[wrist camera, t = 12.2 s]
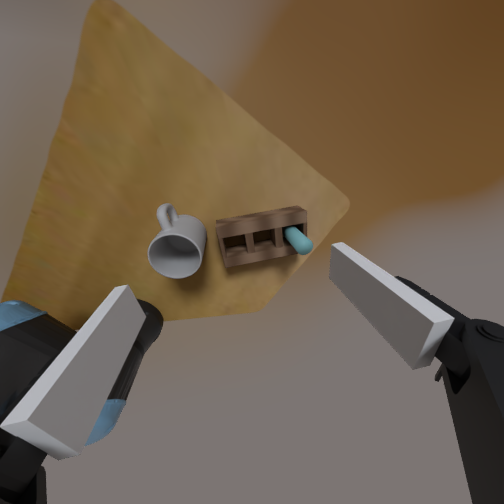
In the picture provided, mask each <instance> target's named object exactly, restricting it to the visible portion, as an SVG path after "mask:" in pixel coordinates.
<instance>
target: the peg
mask: <svg viewBox="0 0 504 504" xmlns="http://www.w3.org/2000/svg"><path fill="white" fill-rule="evenodd" d="M282 234H283V235H284V236H285V238H286V239H287V240H288V241H289V242H290V244H291V245H292V246H293V247H294V248H295V250H296V251H297V252H298V253H299V254H301V255H306V254H308V253H309V252H310V251H311V250H312V248H313V243H312V242H311V241H310V240H309V239H308V238H307V237H306V236H305V235H304V234H303V233H301V232H300V231H299V230H298V229H297V228H296V227H295V226H294V225H290V226H284V227H282Z"/></svg>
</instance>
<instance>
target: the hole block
mask: <svg viewBox="0 0 504 504" xmlns="http://www.w3.org/2000/svg"><path fill="white" fill-rule="evenodd" d="M290 225H295V227H296V228H297V229H298V230H299V231H300V232H301V233H303V234H304V235H305V236H306V237H307V211H306V210H304V209H302V208H301V207H299V206H293V207H288V208H282V209H277V210H271V211H265V212H260V213H254V214H249V215H243V216H238V217H232V218H227V219H221V220H216V231H217V235H218V239H219V243H220V247H221V251H222V256H223V260H224V264H225V268H228V267H233V266H238V265H243V264H248V263H253V262H258V261H263V260H268V259H273V258H278V257H283V256H288V255H293V254H298V252H297V251H296V250H295V248H294V247H293V246H292V245H291V244H290V242H289V241H288V240H287V239H286V238H285V237H282V227H284V226H290ZM268 229H270V238H271V239H270V240H264V241H259V242H254V240H253V233H252V232H258V231H263V230H268ZM242 234H244V238H245V244H244V245H238V246H233V247H228V248H226V244H225V240H224V238H226V237H231V236H236V235H242Z"/></svg>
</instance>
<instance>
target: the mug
mask: <svg viewBox="0 0 504 504" xmlns="http://www.w3.org/2000/svg"><path fill="white" fill-rule="evenodd" d="M167 213H168V215H169V218H170V220H169V219H168V216H167ZM157 218H158V221H159V223H160V225H161V228H162V230H161V231H160V232H159V234H158V235H157V236H156V237H155V238H154V239H153V241H152V242H151V244H150V245H149V248H148V259H149V262H150V264H151V266H152V267H153V268H154V269H155V270H156V271H157V272H158V273H160V274H161V275H163V276H166V277H169V278H174V279H180V278H186V277H188V276H191V275H192V274H194V273H195V272H196V271H197V270H198V269H199V267H200V265H201V262H202V258H203V253H204V248H205V243H206V238H207V233H206V229H205V227H204V225H203V224H202V222H201V221H200V220H198V219H197V218H195V217H193V216H190V215H177V213H176V210H175V209H174V207H173V206H172V205H171V204H169V203H166V204H162V205H161V206H160V207H159V208H158V210H157Z"/></svg>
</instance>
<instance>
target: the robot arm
mask: <svg viewBox="0 0 504 504" xmlns="http://www.w3.org/2000/svg"><path fill="white" fill-rule="evenodd" d="M329 278H330V280H331V281H332V282H333V283H334V284H335V285H336V286H337V287H338V288H339V289H340V290H341V292H342V293H343V294H344V295H345V296H346V297H347V298H348V299H349V300H350V301H351V303H352V304H353V305H354V306H355V307H356V308H357V309H358V310H359V311H360V312H361V313H362V315H363V316H364V317H365V318H366V319H367V320H368V321H369V322H370V323H371V324H372V326H373V327H374V328H375V329H376V330H377V331H378V332H379V333H380V334H381V335H382V336H383V338H384V339H385V340H386V341H387V342H388V343H389V344H390V345H391V346H392V347H393V349H395V351H396V352H397V353H398V354H399V355H400V356H401V357H402V358H403V359H404V361H406V363H407V364H408V365H409V366H410V367H411V368H412V369H413V370H414V369H418V368H421V367H426V366H429V365H430V364H431V362H432V360H433V358H434V357H436V358H438V359H439V360H440V361H441V362H442V364H441V366H440V368H439V370H438V371H437V373H436V375H435V381H438V382H439V380H440V378H441V376H443V381H444V385H445V389H446V393H447V397H448V402H449V406H450V410H451V415H452V418H453V423H454V427H455V432H456V436H457V440H458V444H459V448H460V453H461V457H462V461H463V465H464V469H465V474H466V478H467V482H468V487H469V490H470V495H471V499H472V503H473V504H504V327H503V326H501V325H499V324H497V323H493V322H490V321H487V320H481V319H469V318H467V317H466V316H464V315H463V314H461V313H460V312H458V311H457V310H455V309H453V308H452V307H450V306H449V305H447V304H446V303H444V302H442V301H441V300H439V299H438V298H436V297H435V296H433V295H430V293H428V292H427V291H425V290H424V289H421V287H419V286H417V285H416V284H414V283H413V282H411V281H409V280H407V279H404V278H401V277H399V276H396V277H393V276H392V275H390V274H389V273H387V272H386V271H384V270H383V269H381V268H380V267H378V266H377V265H375V264H374V263H372V262H371V261H369V260H368V259H367V258H365V257H364V256H362V255H360V254H359V253H358V252H356V251H354V250H353V249H352V248H350V247H349V246H347V245H346V244H344V243H343V242H341V243H336V244H332V245H331V259H330V274H329ZM162 326H163V317H162V315H161V313H160V312H159V311H158V309H157V308H155V307H154V306H153V305H151V304H149V303H147V302H145V301H142V300H139V299H136V298H135V296H134V294H133V292H132V291H131V289H130V287H129V285H124V286H119V287H115V288H114V289H113V290H112V292H111V293H110V294H109V295H108V296H107V298H106V299H105V300H104V301H103V302H102V304H101V305H100V306H99V307H98V308H97V310H96V311H95V312H94V313H93V314H92V316H91V317H90V318H89V319H88V320H87V322H86V323H85V324H84V325H83V326H82V328H81V329H80V330H79V331H78V332H76V331H75V330H73V329H71V328H70V327H68V326H66V325H65V324H63V323H61V322H60V321H58V320H57V319H55V318H53V317H52V316H50V315H49V314H47V312H46V311H41V310H39V309H37V308H35V307H33V306H31V305H30V304H28V303H26V302H23V301H19V300H12V301H6V302H3V303H0V504H47V495H46V472H45V469H44V467H43V466H41V464H42V462H43V460H44V459H45V457H46V456H47V454H48V455H50V456H52V457H53V458H55V459H57V460H61V459H65V458H69V457H73V456H77V455H80V454H81V452H82V450H83V448H84V446H87V445H89V444H92V443H95V442H97V441H99V440H100V439H102V438H104V437H105V436H106V435H107V434H109V433H110V431H111V430H112V429H113V428H114V426H115V424H116V422H117V420H118V418H119V416H120V414H121V412H122V410H123V408H124V406H125V405H126V400H127V397H128V394H129V392H130V389H131V387H132V384H133V381H134V379H135V376H136V374H137V371H138V369H139V366H140V364H141V361H142V358H143V356H144V354H145V352H146V351H147V350H148V348H149V347H150V346H151V344H152V343H153V342H154V341H155V340H156V339H157V338H158V336H159V334H160V332H161V329H162Z"/></svg>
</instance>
